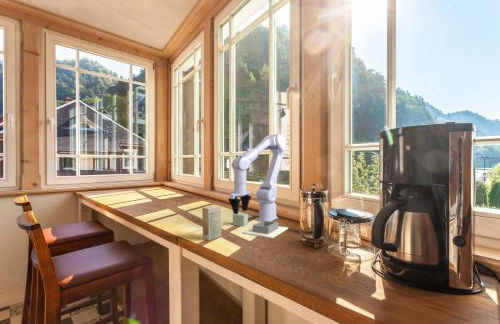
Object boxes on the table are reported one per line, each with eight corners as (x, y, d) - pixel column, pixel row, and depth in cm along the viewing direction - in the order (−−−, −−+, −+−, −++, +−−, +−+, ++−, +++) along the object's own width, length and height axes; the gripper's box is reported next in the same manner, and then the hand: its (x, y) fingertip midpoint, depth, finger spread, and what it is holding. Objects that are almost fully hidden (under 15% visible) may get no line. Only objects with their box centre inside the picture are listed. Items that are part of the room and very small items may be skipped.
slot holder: (260, 224, 119) (260, 218, 118) (288, 228, 111) (288, 221, 111) (242, 233, 105) (242, 225, 105) (272, 238, 98) (272, 230, 98)
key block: (237, 223, 121) (237, 212, 121) (247, 224, 118) (247, 214, 118) (233, 224, 118) (232, 214, 118) (243, 226, 115) (243, 215, 115)
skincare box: (215, 234, 103) (215, 204, 103) (221, 237, 100) (221, 206, 100) (201, 238, 98) (201, 207, 98) (208, 240, 95) (208, 208, 95)
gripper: (241, 181, 126) (241, 208, 127) (224, 184, 114) (224, 214, 114) (253, 182, 123) (253, 210, 123) (237, 184, 110) (237, 215, 110)
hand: (240, 212), depth 118 cm, fingers open, 7 cm apart
